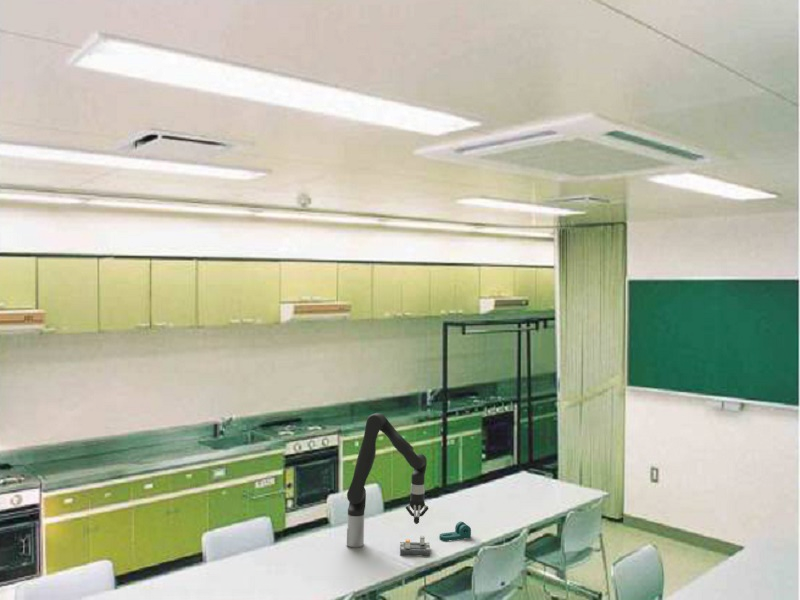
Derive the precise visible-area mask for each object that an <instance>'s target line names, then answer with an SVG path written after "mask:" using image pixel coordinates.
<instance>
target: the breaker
mask: <svg viewBox="0 0 800 600" xmlns="http://www.w3.org/2000/svg"><path fill="white" fill-rule="evenodd" d="M425 537H426V536H425V535H419V543H420V545H424V544H425V543H426V542H425V541H426V539H425Z"/></svg>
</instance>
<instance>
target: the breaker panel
mask: <svg viewBox="0 0 800 600" xmlns="http://www.w3.org/2000/svg"><path fill="white" fill-rule="evenodd" d="M399 543H400V544H399V545H400V546H399V547H400V548H399V550H400V551H399V556H408V555H422V556H421V557H431V548H430V547H431V545H430V542H425V544H424V545H420V542H418V541H417V542H412V541H410V549H407V548H405V543H406V541H400V542H399Z"/></svg>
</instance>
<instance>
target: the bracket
mask: <svg viewBox="0 0 800 600" xmlns="http://www.w3.org/2000/svg"><path fill="white" fill-rule="evenodd" d="M454 528H455V529H454V531H452V532H444V533H443V532H442V533H440V534H439V536H438V537H439V541H443V542H450V541H449V540H452V541H458V540H457V539H460V540H465V539H464V538H468V539H471V538H472V537H471V536H472V529H471V527H470V525H468V524H466V523H465V522H464V521H459V522H457V523H456V524H455V527H454Z"/></svg>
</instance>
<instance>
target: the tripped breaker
mask: <svg viewBox="0 0 800 600" xmlns="http://www.w3.org/2000/svg"><path fill="white" fill-rule="evenodd" d="M405 542H406V543H405V548H407V549H410V542H411V539H410V538H409V539H408V538H407V539H405Z"/></svg>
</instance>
